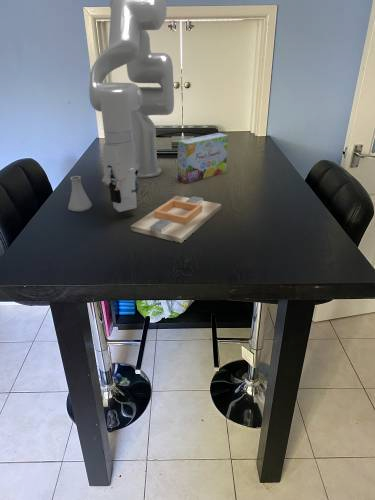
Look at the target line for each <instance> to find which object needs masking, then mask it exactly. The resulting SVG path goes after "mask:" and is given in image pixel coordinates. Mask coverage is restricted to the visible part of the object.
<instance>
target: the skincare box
mask: <svg viewBox="0 0 375 500" xmlns="http://www.w3.org/2000/svg"><path fill="white" fill-rule="evenodd" d="M114 179H115V177H114ZM115 183H116V181H113V184H114V185H115ZM118 190H120V194H121V203H115V202H112V204H113V208H114V209H115V210H116V211H117V212H119V213H120V212H125V211H129V210H134V209H136V208H137V207H138V205H137V204H138V203H137V193H136V188H135V173H134V168H131V169H129V173H128V177H126V178H124V179H122V180H120V184H119V188H118Z"/></svg>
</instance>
